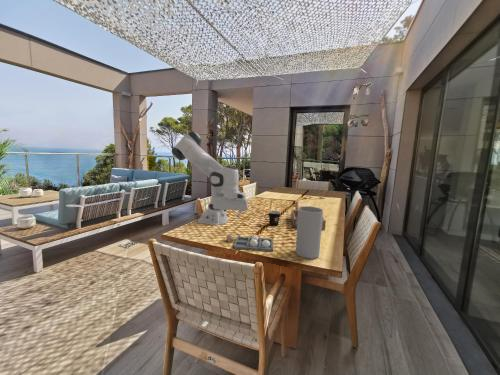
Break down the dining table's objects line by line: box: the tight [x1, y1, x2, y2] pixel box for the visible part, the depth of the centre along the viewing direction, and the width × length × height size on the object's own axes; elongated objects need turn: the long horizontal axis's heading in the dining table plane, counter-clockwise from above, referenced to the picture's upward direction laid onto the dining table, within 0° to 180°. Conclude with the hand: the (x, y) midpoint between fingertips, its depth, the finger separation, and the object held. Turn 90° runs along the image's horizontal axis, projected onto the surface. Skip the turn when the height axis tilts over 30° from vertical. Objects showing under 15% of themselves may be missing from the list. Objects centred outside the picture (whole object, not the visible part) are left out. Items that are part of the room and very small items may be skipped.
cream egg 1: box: [251, 234, 259, 241], centre depth 132 cm, size 5×5×5 cm
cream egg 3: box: [262, 240, 270, 248], centre depth 125 cm, size 5×5×5 cm
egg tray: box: [232, 236, 274, 252], centre depth 129 cm, size 22×15×2 cm
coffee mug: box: [263, 210, 281, 227], centre depth 167 cm, size 12×9×10 cm
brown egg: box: [225, 233, 235, 243], centre depth 133 cm, size 5×5×5 cm
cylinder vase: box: [295, 205, 324, 260], centre depth 119 cm, size 12×12×25 cm
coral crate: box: [290, 209, 327, 231], centre depth 173 cm, size 22×25×7 cm
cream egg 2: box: [250, 239, 258, 247], centre depth 126 cm, size 5×5×5 cm
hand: (230, 217), depth 131 cm, fingers open, 8 cm apart
